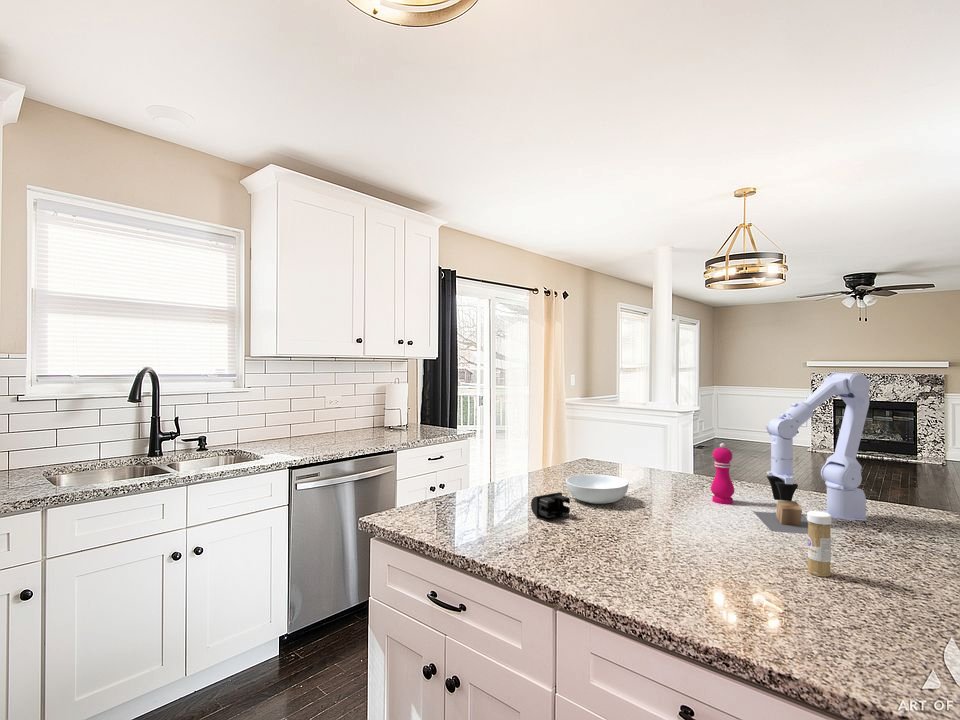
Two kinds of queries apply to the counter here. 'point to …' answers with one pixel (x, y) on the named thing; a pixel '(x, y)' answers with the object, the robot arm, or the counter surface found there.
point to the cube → (789, 512)
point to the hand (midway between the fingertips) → (781, 502)
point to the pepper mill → (722, 476)
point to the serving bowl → (597, 488)
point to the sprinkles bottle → (819, 543)
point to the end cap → (550, 507)
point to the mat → (776, 526)
